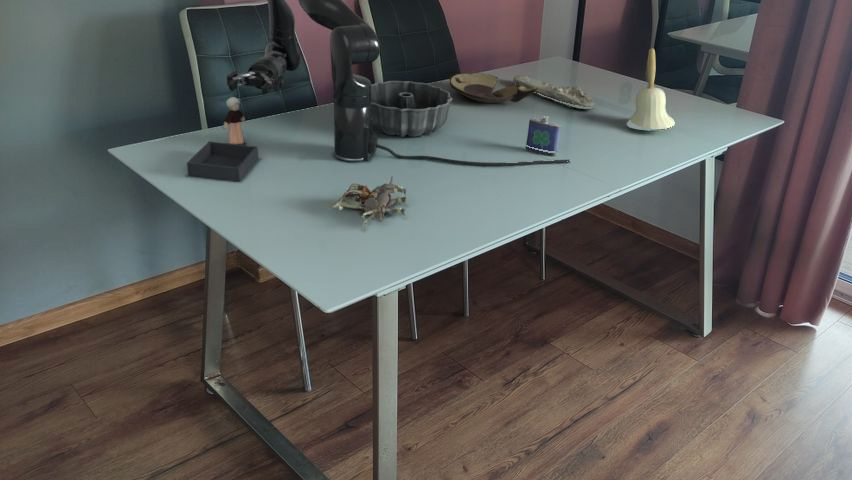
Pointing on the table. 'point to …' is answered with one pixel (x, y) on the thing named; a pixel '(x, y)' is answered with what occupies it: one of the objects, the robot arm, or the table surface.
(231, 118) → the grandmother figurine
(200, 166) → the pan
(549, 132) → the flask
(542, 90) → the elongated rock
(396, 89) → the bundt pan
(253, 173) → the table surface
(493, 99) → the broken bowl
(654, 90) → the handbell
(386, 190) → the figurine
